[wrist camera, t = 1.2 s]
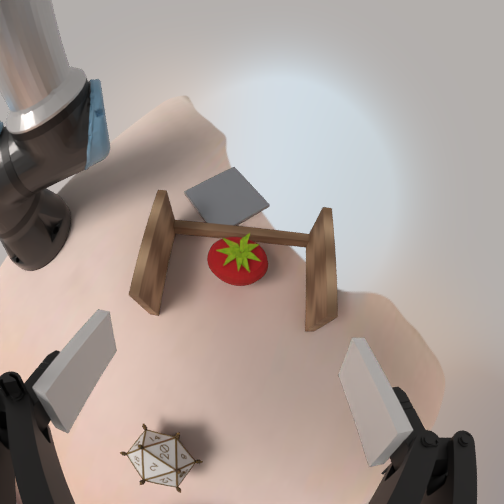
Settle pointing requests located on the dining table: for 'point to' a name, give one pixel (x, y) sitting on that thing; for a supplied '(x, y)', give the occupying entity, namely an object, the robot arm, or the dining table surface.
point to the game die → (160, 458)
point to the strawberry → (237, 260)
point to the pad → (226, 199)
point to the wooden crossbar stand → (165, 227)
